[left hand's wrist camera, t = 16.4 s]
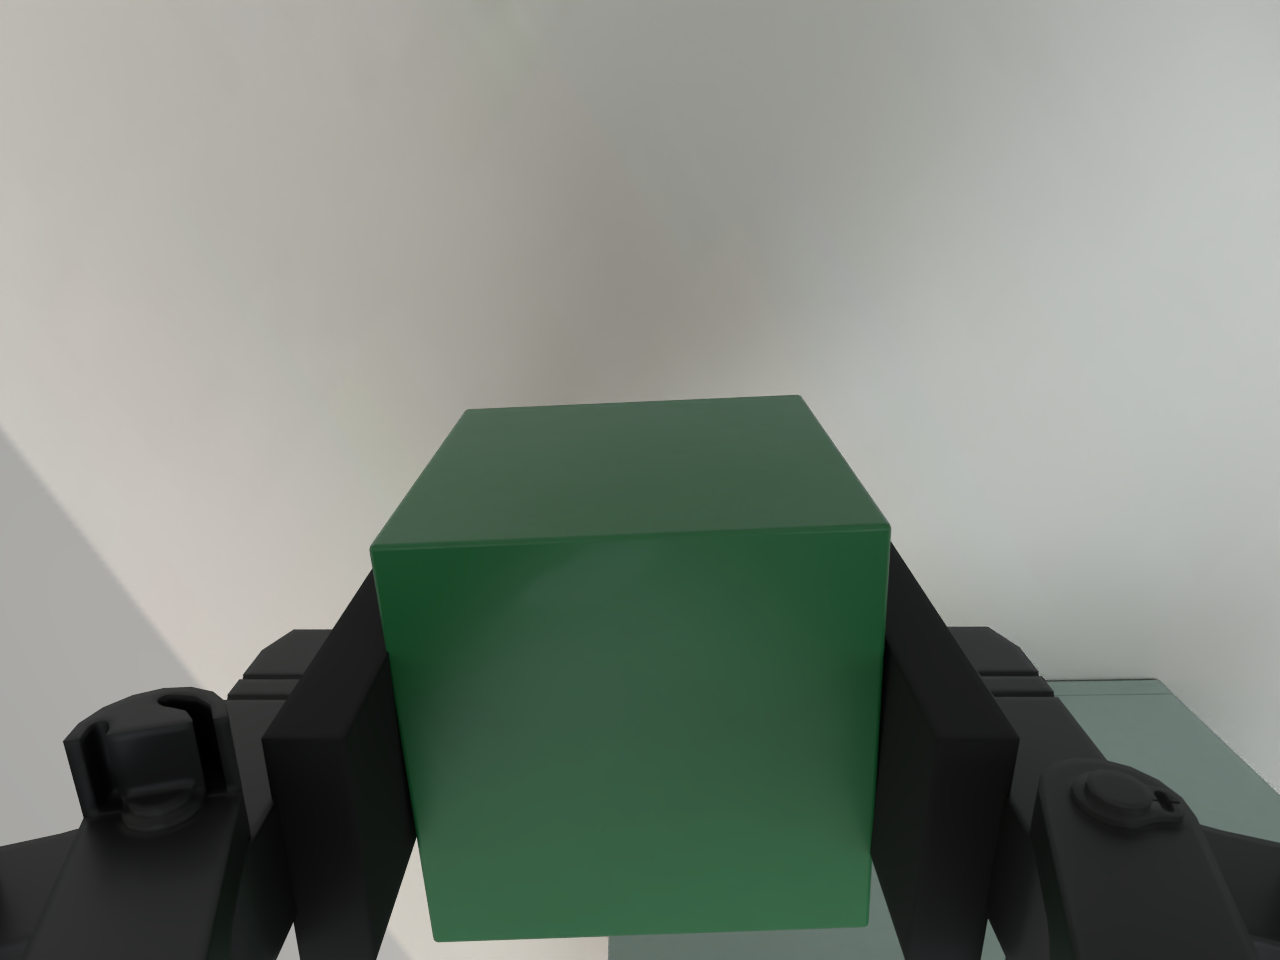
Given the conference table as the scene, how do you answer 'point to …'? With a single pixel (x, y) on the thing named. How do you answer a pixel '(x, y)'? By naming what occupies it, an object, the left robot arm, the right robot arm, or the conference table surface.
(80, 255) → the conference table surface
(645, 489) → the block
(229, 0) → the conference table surface
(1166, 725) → the chest
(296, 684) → the left robot arm
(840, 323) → the conference table surface
